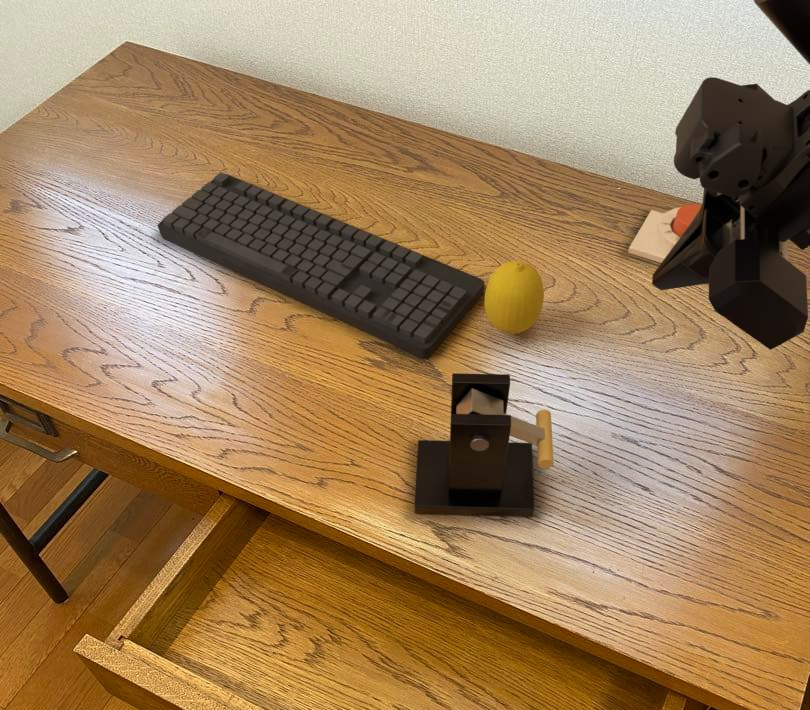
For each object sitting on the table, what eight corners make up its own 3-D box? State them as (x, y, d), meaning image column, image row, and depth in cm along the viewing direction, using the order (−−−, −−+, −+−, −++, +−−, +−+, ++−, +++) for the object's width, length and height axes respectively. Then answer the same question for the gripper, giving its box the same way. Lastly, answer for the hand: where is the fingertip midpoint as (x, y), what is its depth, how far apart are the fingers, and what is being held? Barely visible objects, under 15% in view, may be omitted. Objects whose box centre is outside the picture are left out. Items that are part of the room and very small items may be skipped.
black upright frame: (530, 450, 66) (546, 364, 57) (532, 517, 63) (550, 437, 53) (418, 448, 67) (416, 362, 58) (414, 513, 63) (411, 433, 54)
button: (712, 225, 78) (717, 210, 76) (701, 245, 76) (707, 230, 75) (678, 215, 79) (683, 200, 77) (667, 235, 77) (672, 220, 76)
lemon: (471, 337, 74) (476, 270, 67) (500, 303, 76) (506, 236, 69) (520, 359, 72) (530, 293, 65) (548, 324, 74) (560, 257, 67)
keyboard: (485, 291, 77) (487, 275, 75) (426, 360, 72) (426, 345, 70) (225, 182, 87) (220, 166, 86) (158, 236, 83) (153, 220, 81)
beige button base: (740, 241, 80) (748, 221, 77) (720, 281, 76) (729, 261, 74) (649, 215, 82) (655, 194, 80) (627, 252, 79) (633, 232, 77)
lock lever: (540, 424, 62) (558, 408, 60) (543, 474, 59) (561, 458, 57) (456, 392, 59) (472, 373, 57) (455, 442, 56) (471, 425, 54)
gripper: (774, -59, 43) (585, 136, 56) (782, 161, 35) (560, 329, 48) (888, 59, 47) (688, 215, 60) (917, 279, 39) (681, 404, 52)
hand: (656, 283), depth 55 cm, fingers closed
